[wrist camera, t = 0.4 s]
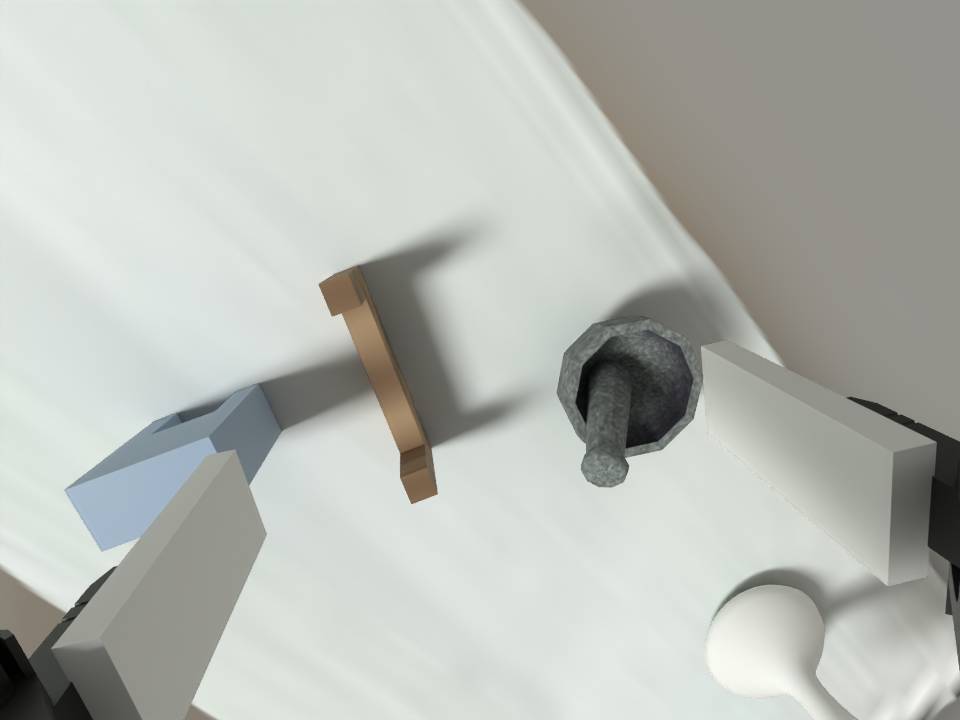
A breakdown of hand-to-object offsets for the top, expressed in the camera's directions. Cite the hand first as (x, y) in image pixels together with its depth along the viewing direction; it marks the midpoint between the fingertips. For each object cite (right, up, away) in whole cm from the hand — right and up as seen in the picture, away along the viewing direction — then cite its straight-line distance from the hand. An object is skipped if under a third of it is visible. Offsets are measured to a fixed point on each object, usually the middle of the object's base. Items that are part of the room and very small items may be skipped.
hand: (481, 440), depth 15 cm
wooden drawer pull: (-7, +2, +26) cm, 27 cm away
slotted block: (-19, -3, +25) cm, 32 cm away
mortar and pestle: (+9, +1, +29) cm, 30 cm away
